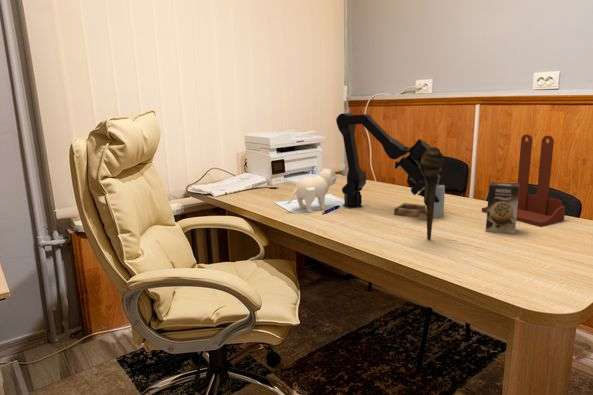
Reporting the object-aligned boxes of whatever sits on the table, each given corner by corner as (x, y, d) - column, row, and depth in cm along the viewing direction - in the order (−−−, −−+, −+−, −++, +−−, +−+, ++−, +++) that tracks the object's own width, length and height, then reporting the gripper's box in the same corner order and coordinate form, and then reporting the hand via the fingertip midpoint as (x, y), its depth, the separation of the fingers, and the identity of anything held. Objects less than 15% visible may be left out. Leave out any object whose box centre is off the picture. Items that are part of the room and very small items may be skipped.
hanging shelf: (481, 212, 167) (486, 135, 160) (503, 207, 172) (509, 132, 166) (540, 227, 146) (549, 139, 139) (563, 221, 151) (573, 136, 145)
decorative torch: (423, 235, 142) (426, 145, 135) (443, 238, 138) (447, 146, 131) (414, 240, 137) (417, 148, 130) (435, 244, 133) (439, 149, 126)
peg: (429, 217, 162) (430, 186, 159) (433, 214, 165) (434, 184, 163) (440, 218, 160) (441, 187, 157) (443, 215, 163) (444, 185, 160)
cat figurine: (291, 216, 171) (289, 175, 167) (281, 210, 180) (279, 171, 176) (344, 207, 181) (344, 169, 177) (332, 202, 190) (332, 165, 186)
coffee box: (485, 231, 143) (488, 184, 139) (486, 226, 149) (489, 181, 145) (515, 234, 139) (519, 186, 135) (515, 229, 144) (519, 182, 141)
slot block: (394, 215, 167) (394, 208, 166) (403, 208, 175) (404, 202, 175) (416, 217, 162) (416, 211, 161) (425, 211, 170) (425, 205, 170)
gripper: (420, 158, 152) (450, 191, 148) (436, 152, 167) (463, 182, 163) (398, 178, 158) (427, 210, 155) (415, 170, 173) (442, 199, 170)
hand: (441, 200), depth 160 cm, fingers open, 6 cm apart
